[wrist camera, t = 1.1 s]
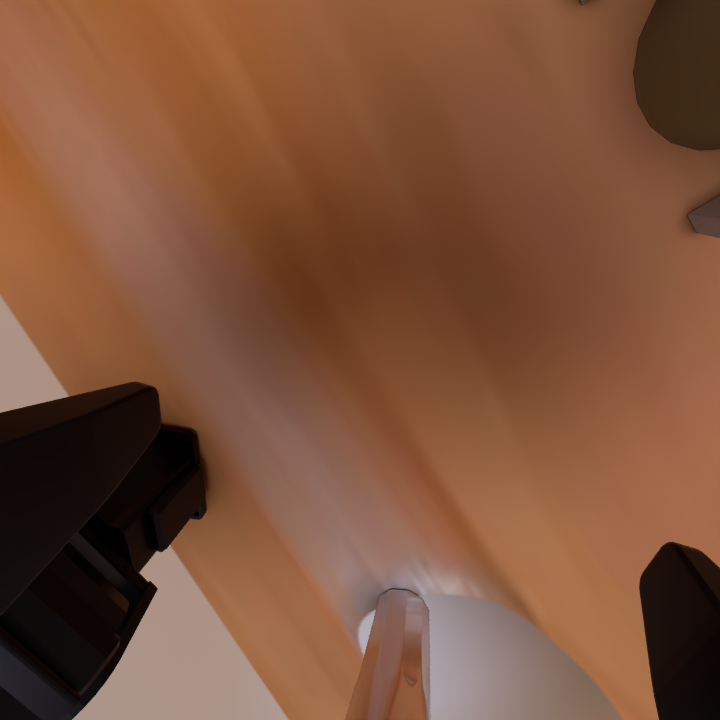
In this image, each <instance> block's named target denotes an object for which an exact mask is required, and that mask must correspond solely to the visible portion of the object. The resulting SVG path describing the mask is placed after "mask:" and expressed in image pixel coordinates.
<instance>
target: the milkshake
mask: <svg viewBox="0 0 720 720" xmlns="http://www.w3.org/2000/svg"><path fill="white" fill-rule="evenodd" d="M429 638H430V636H429V609H428V607H427V606H426V604H425V602H424V600H423V599H422V598H421V597H419V596H417V595H416V594H414V593H412V592H410V591H408V590H397V589H391V590H389V591H388V592H385V593H383V594H381V595H380V598H379V601H378V605H377V609H376V613H375V616H374V621H373V625H372V628H371V632H370V636H369V640H368V643H367V647H366V651H365V655H364V659H363V662H362V666H361V670H360V673H359V676H358V679H357V682H356V685H355V688H354V691H353V694H352V698H351V701H350V704H349V708H348V711H347V714H346V718H345V720H431V706H430V705H431V702H430V639H429Z"/></svg>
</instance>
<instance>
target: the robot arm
mask: <svg viewBox="0 0 720 720" xmlns="http://www.w3.org/2000/svg"><path fill="white" fill-rule="evenodd" d="M185 437H186V438H187V439H188V440H187V439H186V438H185ZM205 513H206V507H205V494H204V486H203V478H202V470H201V467H200V460H199V453H198V445H197V438H196V435H195V434H194V432H192V431H191V430H188V429H183V428H177V427H171V426H165V425H161V412H160V402H159V394H158V391H157V389H156V388H155V387H153V386H150V385H147V384H143V383H140V382H130V383H126V384H122V385H117V386H113V387H109V388H105V389H100V390H96V391H92V392H87V393H83V394H79V395H75V396H70V397H66V398H62V399H57V400H53V401H49V402H45V403H40V404H36V405H32V406H27V407H23V408H19V409H15V410H10V411H6V412H2V413H0V720H72V719H73V718H74V717H75V716H76V715H77V714H78V713H79V712H80V711H81V710H82V709H83V708H84V707H85V706H86V705H87V704H88V703H89V701H90V700H91V699H92V698H93V697H94V696H95V695H96V693H97V692H98V691H99V690H100V688H101V687H102V686H103V685H104V683H105V682H106V681H107V679H108V678H109V676H110V675H111V673H112V672H113V671H114V669H115V667H116V666H117V664H118V662H119V661H120V659H121V657H122V655H123V653H124V651H125V649H126V648H127V645H128V644H129V642H130V640H131V638H132V636H133V634H134V633H135V631H136V628H137V627H138V625H139V623H140V621H141V619H142V618H143V615H144V614H145V612H146V610H147V608H148V606H149V604H150V602H151V600H152V599H153V597H154V595H155V593H156V591H157V587H156V586H155V585H154V584H153V583H152V582H151V581H149V582H148V581H146V579H145V578H144V577H143V576H142V575H141V574H140V573H139V572H140V571H141V569H142V568H143V567H144V566H145V565H146V564H147V562H148V561H149V560H150V559H151V557H152V556H153V555H154V554H155V552H156V551H159V552H163V551H164V550H165V549H167V547H168V546H169V545H170V544H171V542H172V541H173V540H174V539H175V537H176V536H177V535H178V533H179V532H180V531H181V530H182V528H183V527H184V526H185V525H186V523H187V522H188V521H189V519H190V518H192V519H198V520H199V519H201V518H202V517H203V516H204V514H205ZM639 589H640V598H641V605H642V613H643V620H644V628H645V636H646V643H647V651H648V658H649V666H650V673H651V680H652V686H653V692H654V698H655V703H656V707H657V712H658V716H659V720H720V568H719V567H718V566H717V565H716V564H715V563H714V562H713V561H712V560H711V559H710V558H708V557H707V556H706V555H705V554H704V553H703V552H701V551H700V550H698V549H695V548H692V547H689V546H685V545H682V544H678V543H675V542H668V543H666V544H664V545H663V546H662V547H661V548H660V550H659V551H658V552H657V554H656V555H655V557H654V558H653V559H652V561H651V562H650V563H649V565H648V566H647V567H646V569H645V570H644V572H643V573H642V575H641V578H640V585H639Z"/></svg>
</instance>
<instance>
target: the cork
mask: <svg viewBox="0 0 720 720" xmlns="http://www.w3.org/2000/svg"><path fill="white" fill-rule="evenodd" d="M633 74H634V82H635V89H636V96H637V103H638V105H639V106H640V108H641V110H642V112H643V114H644V116H645V117H646V119H647V121H648V123H649V125H650V127H652V128H653V129H654V130H656V131H657V132H658V133H659V134H661V135H662V136H663V137H665V138H666V139H667V140H668V141H670V142H671V143H674V144H677V145H681V146H684V147H688V148H692V149H695V150H699V151H700V150H716V149H720V0H657V1H656V2H655V4H654V7H653V9H652V11H651V13H650V15H649V18H648V20H647V22H646V24H645V26H644V29H643V31H642V33H641V35H640V37H639V42H638V48H637V54H636V59H635V65H634V71H633Z"/></svg>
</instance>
